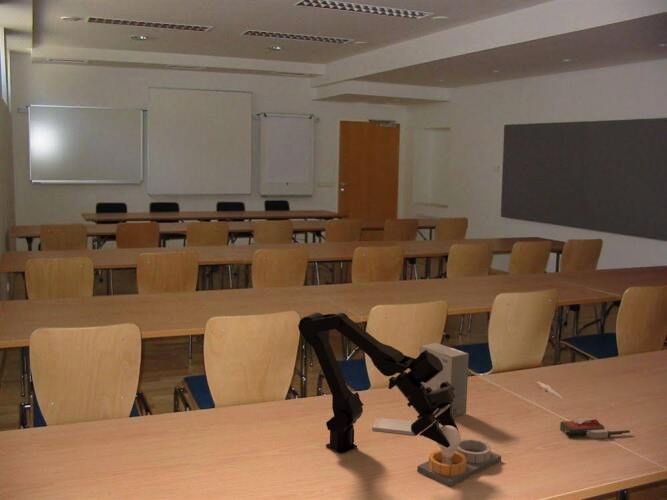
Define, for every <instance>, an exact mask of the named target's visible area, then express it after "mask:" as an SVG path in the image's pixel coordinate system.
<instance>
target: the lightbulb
mask: <svg viewBox="0 0 667 500" xmlns="http://www.w3.org/2000/svg"><path fill="white" fill-rule="evenodd" d="M440 429H441V431H442V432H443V434H444V435H445V437H446V438H447V440H448V442H449V443H450V446H449V447H448V448H446V447H445V446H443V445H441V444H439V443H437V442H436V443H437V446H438V447H439V450H441V453H442V464H448V465H452V460H453V455H454V452H455V450H456V448H457V447H458V446H459V444H460V441H461V439H462V436H461V433H460V431H458V430H459V429H458V430H457V429H456V428H455V427H453V426H450V425H446V426H441V427H440Z"/></svg>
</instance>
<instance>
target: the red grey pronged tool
mask: <svg viewBox="0 0 667 500" xmlns="http://www.w3.org/2000/svg"><path fill="white" fill-rule="evenodd" d="M559 431H560V432H562V433H563V434H564V435H566V436H567V437H569V438H583V437H586V438H589V439H594V440H595V439H596V440H597V439H608V438H609V437H610V436H615V435H623V434H628V433H629V434H630V433H631V431H630V430H629V429H628V430H627V429H626V430H625V429H624V430H612V431H610V430H606V429H605V426H604V424H602V423H600V421H598V420H597V419H596V418H595V417H592V416H589V417H588V416H587V417H586V416H585V417H581V418H578V419H577V420H576V419H575V418H574V419H572V420H567V421H560V426H559Z"/></svg>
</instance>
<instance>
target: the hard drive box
mask: <svg viewBox="0 0 667 500" xmlns="http://www.w3.org/2000/svg"><path fill="white" fill-rule="evenodd" d="M425 350H427V351H428V352H429V353H432V354H433V355H435V356H436V357H438V358H439V360H440V361H441V363H442V365H443V370H442V371H441V372H440V373H438V374H437V375H436V376H435V377H433V378H432V379H431V380H430V381H428V382H427V383H424V382H421V383H422V384H423V385H424V387H425V388H427V387H430V388H431V389H432V390H433V391H434V390H437V389H438V388H439V389H440V384H441V383H443V382H446V381H447V382H448V383H449V384H450V385H452V387H454V388H455V389H454V391H453V392H454V394H455V398H453V400H454V401H453V402H452V403H451V404H450V405H448V406H451V405H452V404H453V407H452V416H453V418H454V417H458V416H461V415H465V414H467V404H468V403H467V399H468V376H469V356H470V355H469V354H470V353H468V352H465V351H462V350H458V349H456V348H453V347H450V346H446V345H444V344H440V343H437V342H434V343H428V344H423V345H419V355H420V354H421V353H422V352H423V351H425Z"/></svg>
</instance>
